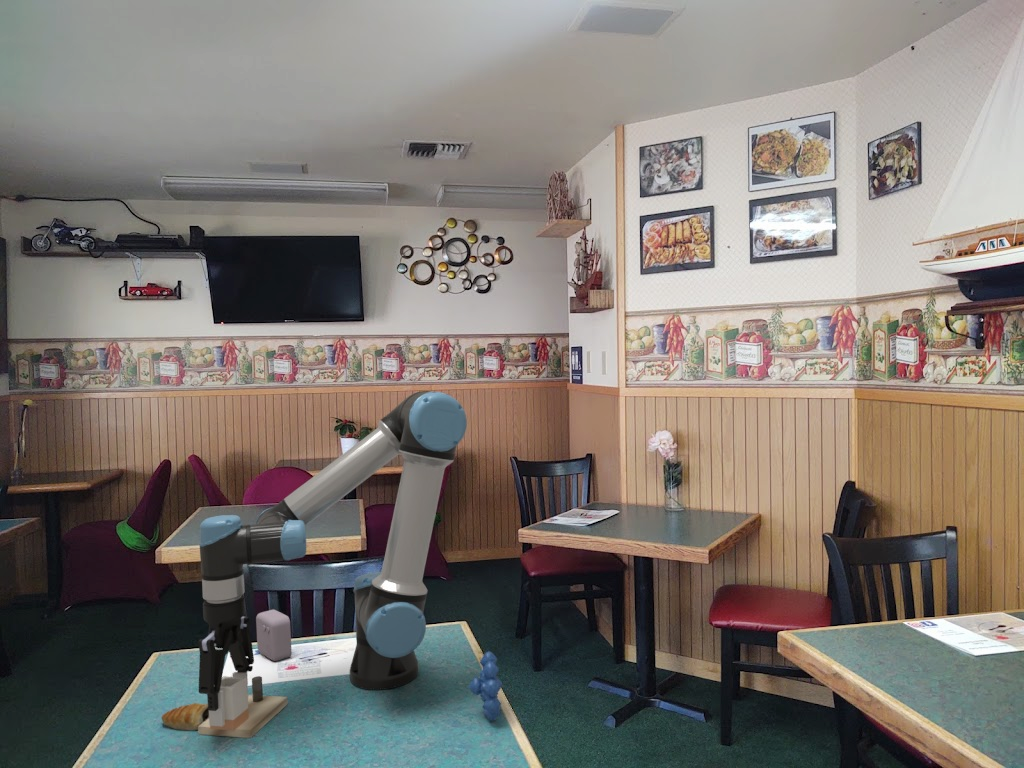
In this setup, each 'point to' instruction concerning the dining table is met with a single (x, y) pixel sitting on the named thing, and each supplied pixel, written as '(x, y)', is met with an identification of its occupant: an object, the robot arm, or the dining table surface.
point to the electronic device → (273, 635)
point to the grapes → (488, 686)
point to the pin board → (251, 713)
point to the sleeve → (234, 702)
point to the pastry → (186, 716)
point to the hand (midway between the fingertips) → (229, 714)
